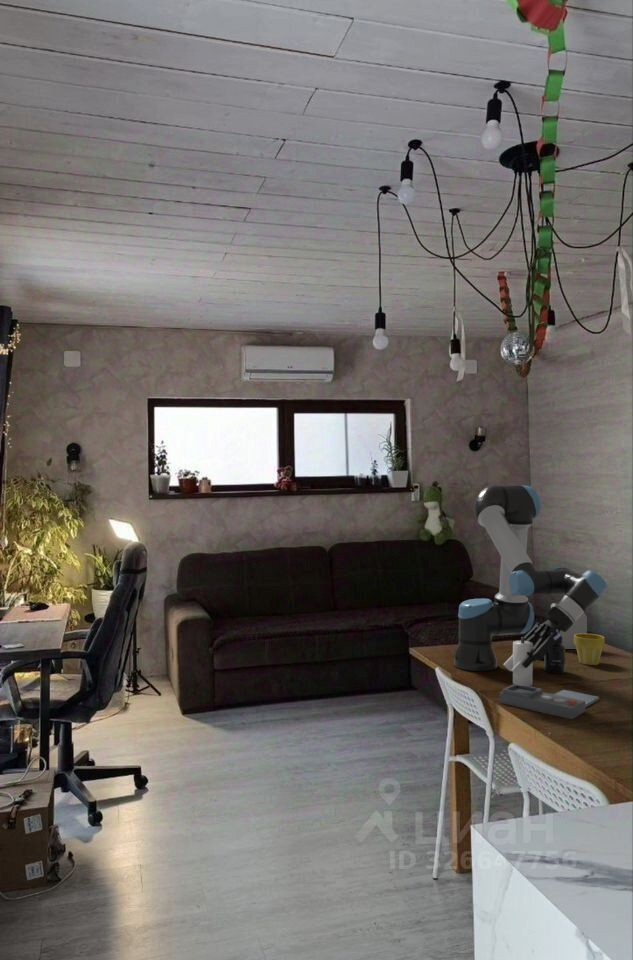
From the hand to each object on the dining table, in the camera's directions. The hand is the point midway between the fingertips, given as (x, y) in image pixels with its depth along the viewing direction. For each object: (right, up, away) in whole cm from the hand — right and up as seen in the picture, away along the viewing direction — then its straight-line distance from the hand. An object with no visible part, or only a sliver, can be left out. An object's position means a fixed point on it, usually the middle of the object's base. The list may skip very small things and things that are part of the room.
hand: (510, 670), depth 207 cm
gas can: (+44, -10, +70) cm, 83 cm away
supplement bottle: (+25, -10, +35) cm, 44 cm away
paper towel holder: (+4, -4, 0) cm, 5 cm away
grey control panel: (+8, -10, -4) cm, 13 cm away
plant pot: (+42, -10, +47) cm, 64 cm away
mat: (+20, -10, +3) cm, 22 cm away
